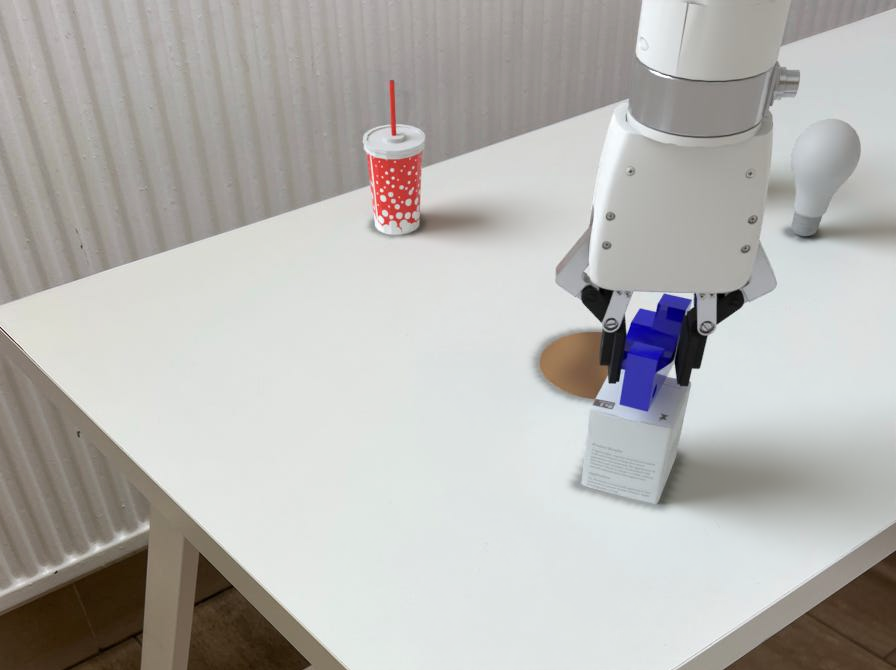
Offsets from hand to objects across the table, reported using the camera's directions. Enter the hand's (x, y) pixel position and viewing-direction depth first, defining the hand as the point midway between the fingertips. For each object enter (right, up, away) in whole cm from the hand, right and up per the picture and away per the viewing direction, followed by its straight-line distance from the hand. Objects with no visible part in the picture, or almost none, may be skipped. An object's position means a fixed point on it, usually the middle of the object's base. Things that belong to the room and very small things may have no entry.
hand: (647, 371), depth 68 cm
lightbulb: (+23, +22, +30) cm, 44 cm away
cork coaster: (0, +5, +16) cm, 17 cm away
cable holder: (0, 0, +1) cm, 1 cm away
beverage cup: (-18, +24, +33) cm, 45 cm away
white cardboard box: (0, -6, +7) cm, 9 cm away
